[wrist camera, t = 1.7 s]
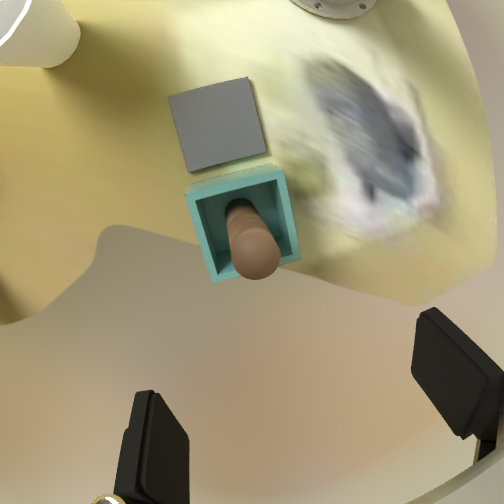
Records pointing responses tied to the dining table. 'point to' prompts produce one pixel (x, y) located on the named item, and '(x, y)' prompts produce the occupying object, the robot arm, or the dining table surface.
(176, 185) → the dining table surface
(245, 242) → the dowel
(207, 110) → the coaster
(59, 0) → the foam cup
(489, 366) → the robot arm
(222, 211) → the teal open box
